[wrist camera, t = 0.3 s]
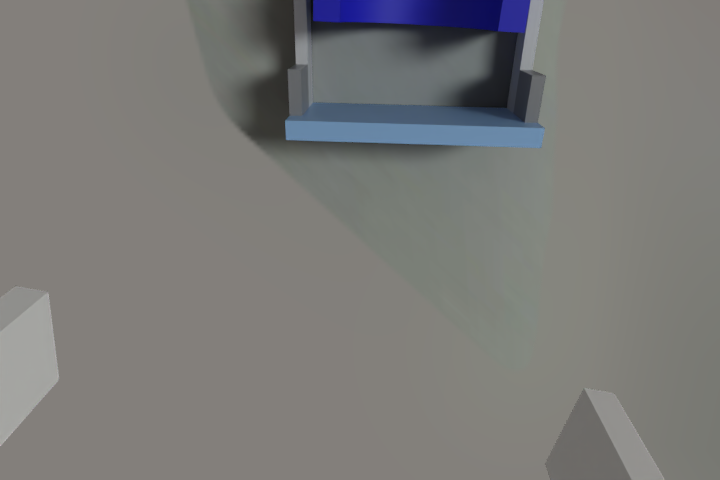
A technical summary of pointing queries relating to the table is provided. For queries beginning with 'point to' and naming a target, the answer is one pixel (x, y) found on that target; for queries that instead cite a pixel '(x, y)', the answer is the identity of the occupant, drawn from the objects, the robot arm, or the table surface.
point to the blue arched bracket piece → (428, 13)
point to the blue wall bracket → (415, 120)
